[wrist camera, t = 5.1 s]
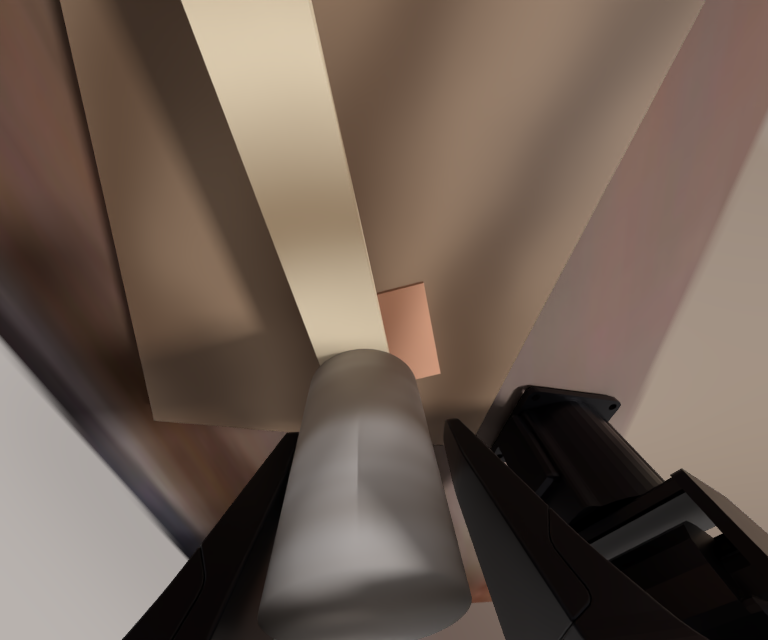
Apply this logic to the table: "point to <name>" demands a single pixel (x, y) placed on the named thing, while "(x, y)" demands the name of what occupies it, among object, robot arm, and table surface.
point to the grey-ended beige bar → (332, 356)
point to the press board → (366, 186)
